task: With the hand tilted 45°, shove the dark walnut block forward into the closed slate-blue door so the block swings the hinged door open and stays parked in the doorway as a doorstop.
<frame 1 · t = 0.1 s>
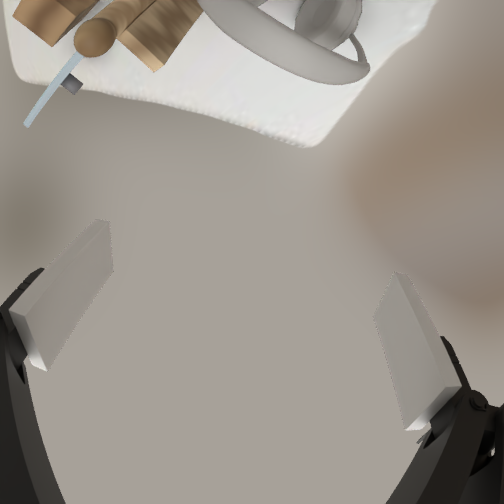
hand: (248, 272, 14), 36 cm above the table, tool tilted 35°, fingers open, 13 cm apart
door: (96, 51, 30), point 9 cm above the table, hinge at 0.0°
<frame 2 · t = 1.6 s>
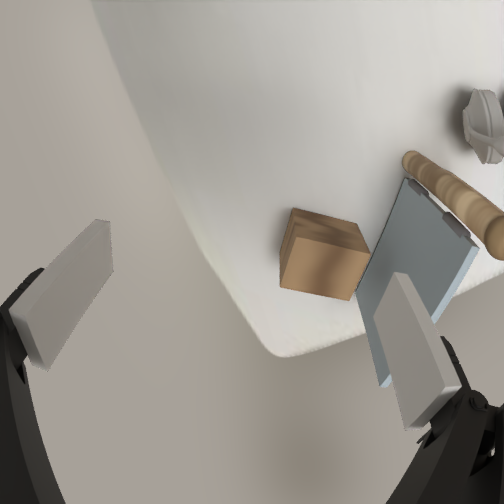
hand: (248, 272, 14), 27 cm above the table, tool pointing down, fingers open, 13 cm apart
brown long wooden part: (412, 161, 36), on the table
headphones: (487, 117, 31), on the table
door: (412, 277, 34), point 9 cm above the table, hinge at 0.0°
walnut block: (317, 238, 43), on the table
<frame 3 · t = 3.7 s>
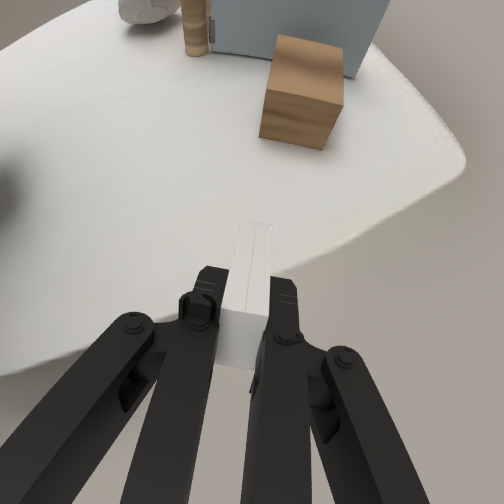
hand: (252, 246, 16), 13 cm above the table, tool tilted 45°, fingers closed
brown long wooden part: (196, 50, 36), on the table
headphones: (152, 14, 38), on the table
door: (294, 2, 28), point 9 cm above the table, hinge at 0.0°
walnut block: (294, 113, 34), on the table
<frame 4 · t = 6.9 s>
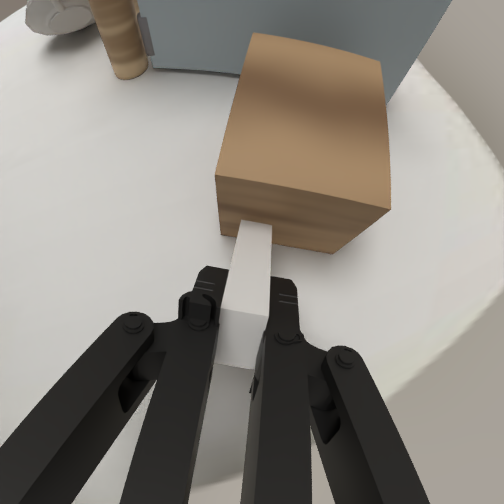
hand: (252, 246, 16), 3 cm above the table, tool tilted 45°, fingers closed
brown long wooden part: (131, 67, 22), on the table
headphones: (84, 18, 24), on the table
walnut block: (286, 179, 21), on the table, touching gripper
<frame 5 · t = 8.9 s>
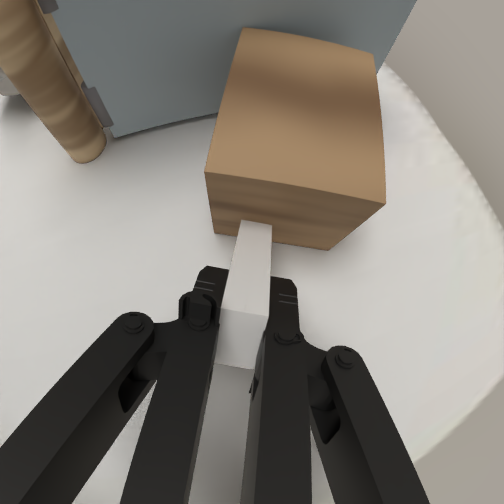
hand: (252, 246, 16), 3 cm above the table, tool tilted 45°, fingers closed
brown long wooden part: (87, 145, 20), on the table
headphones: (43, 64, 22), on the table
walnut block: (280, 175, 20), on the table, touching door, gripper
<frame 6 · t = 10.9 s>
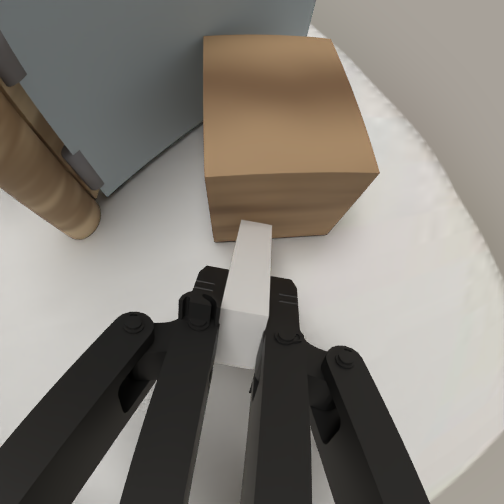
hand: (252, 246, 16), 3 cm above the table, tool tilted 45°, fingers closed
brown long wooden part: (81, 218, 19), on the table
door: (185, 6, 13), point 9 cm above the table, hinge at 53.6°
walnut block: (264, 173, 21), on the table, touching gripper
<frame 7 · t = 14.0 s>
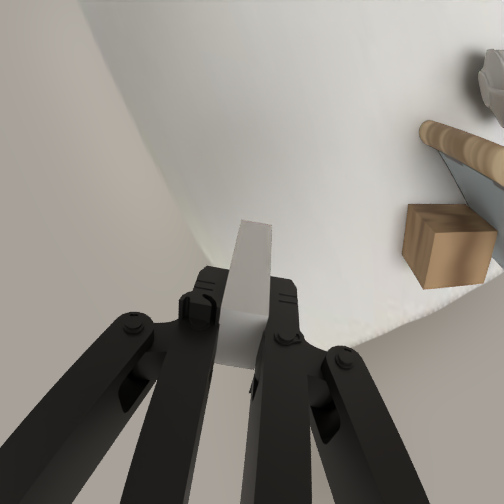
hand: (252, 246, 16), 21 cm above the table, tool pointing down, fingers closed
brown long wooden part: (430, 132, 31), on the table
headphones: (502, 84, 26), on the table
walnut block: (434, 228, 36), on the table
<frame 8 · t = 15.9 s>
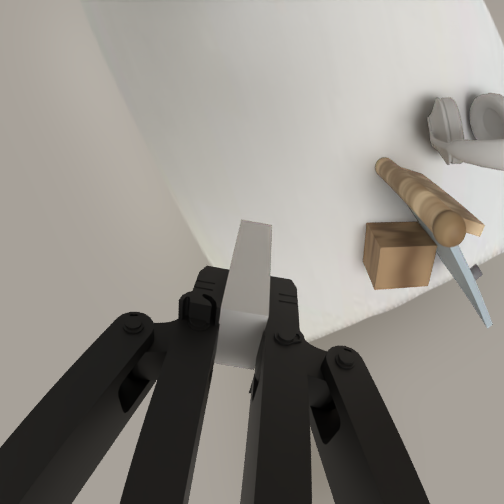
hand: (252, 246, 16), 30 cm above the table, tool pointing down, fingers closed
brown long wooden part: (384, 167, 43), on the table
headphones: (454, 121, 38), on the table
door: (452, 244, 38), point 9 cm above the table, hinge at 53.7°
walnut block: (390, 241, 49), on the table
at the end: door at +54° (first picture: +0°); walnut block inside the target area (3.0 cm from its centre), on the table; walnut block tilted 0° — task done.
